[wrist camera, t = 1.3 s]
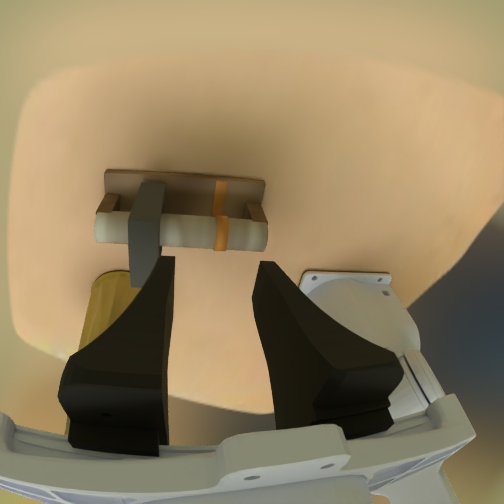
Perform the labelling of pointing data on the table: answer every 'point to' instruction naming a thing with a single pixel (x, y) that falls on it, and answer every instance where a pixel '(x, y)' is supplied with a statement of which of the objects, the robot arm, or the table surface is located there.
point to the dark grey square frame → (145, 231)
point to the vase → (105, 307)
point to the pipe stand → (188, 210)
